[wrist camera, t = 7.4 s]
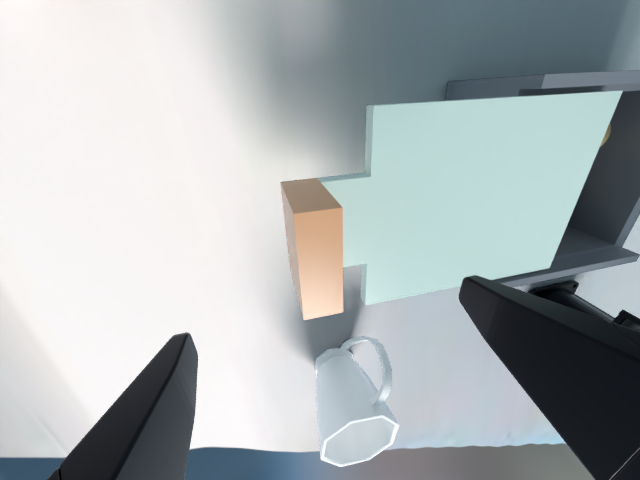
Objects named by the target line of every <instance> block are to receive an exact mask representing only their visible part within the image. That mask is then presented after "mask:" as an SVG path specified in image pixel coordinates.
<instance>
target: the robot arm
mask: <svg viewBox="0 0 640 480" xmlns="http://www.w3.org/2000/svg"><path fill="white" fill-rule="evenodd" d="M578 285H579V283H578V282H576V281H569V282H564V283H560V284H555V285H551V286H546V287H541V288H537V289H533V290H532V291H531V292H530V294H529V293H526V292H523V291H521V290H518V289H515V288H512V287H509V286H506V285H503V284H500V283H498V282H495V281H492V280H489V279H486V278H483V277H480V276H477V275H473V276H467V277H465V278H464V279H463V281H462V284H461V288H460V293H459V300H460V303H461V304H462V306H463V307H464V309H465V310H466V312H467V313H468V315H469V316H470V318H471V320H472V321H473V323H474V324H475V326H476V327H477V329H478V330H479V332H480V333H481V335H482V336H483V338H484V339H485V341H486V342H487V343H488V345H489V346H490V347H491V348H492V350H493V351H494V352H495V354H496V355H497V356H498V357H499V359H500V360H501V361H502V362H503V364H504V365H505V366H506V367H507V369H508V370H509V371H510V373H511V374H512V375H513V376H514V378H515V379H516V380H517V381H518V383H519V384H520V385H521V386H522V388H523V389H524V390H525V392H526V393H527V394H528V395H529V397H530V398H531V399H532V400H533V402H534V403H535V404H536V405H537V407H538V408H539V409H540V411H541V412H542V413H543V414H544V416H545V417H546V418H547V419H548V421H549V422H550V423H551V424H552V426H553V427H554V428H555V430H556V431H557V432H558V433H559V435H560V436H561V437H562V438H563V440H564V441H565V442H566V443H567V445H568V446H569V447H570V449H571V450H572V451H573V452H574V454H575V455H576V456H577V457H578V459H579V460H580V461H581V463H582V464H583V465H584V466H585V468H586V469H587V470H588V471H589V473H590V474H591V475H592V476H593V478H594V479H595V480H640V319H639V318H637V317H636V316H634V315H632V314H630V313H628V312H626V311H625V310H622V311H621V312H619V315H618V316H617V317H616V318H614V317H612V316H611V315H609V314H607V313H606V312H604V311H602V310H601V309H599V308H597V307H596V306H594V305H592V304H591V303H589V302H587V301H586V300H584V299H582V298H581V297H579V296H577V295H576V294H574V293H575V291H576V289H577V287H578ZM197 368H198V354H197V350H196V348H195V345H194V342H193V340H192V337H191V335H190V334H189V333H182V334H177V335H174V336H173V337H171V339H170V340H169V341H168V342H167V343H166V344H165V345H164V347H163V348H162V349H161V350H160V351H159V352H158V353H157V355H156V356H155V357H154V358H153V359H152V360H151V361H150V363H149V364H148V365H147V366H146V367H145V368H144V369H143V370H142V372H141V373H140V374H139V375H138V376H137V377H136V378H135V380H134V381H133V382H132V383H131V384H130V385H129V386H128V388H127V389H126V390H125V391H124V392H123V393H122V394H121V396H120V397H119V398H118V399H117V400H116V401H115V402H114V404H113V405H112V406H111V407H110V408H109V409H108V410H107V412H106V413H105V414H104V415H103V416H102V417H101V418H100V420H99V421H98V422H97V423H96V424H95V425H94V426H93V428H92V429H91V430H90V431H89V432H88V433H87V434H86V435H85V437H84V438H83V439H82V440H81V441H80V442H79V443H78V445H77V446H76V447H75V448H74V449H73V450H72V451H71V453H70V454H69V455H68V456H67V457H66V458H65V460H64V461H63V462H62V463H61V464H60V468H58V469H56V470H55V471H54V472H53V473H52V474H51V475H50V476H49V478H48V479H47V480H184V478H185V472H186V465H187V460H188V453H189V448H190V442H191V436H192V430H193V424H194V416H195V405H196V387H197Z"/></svg>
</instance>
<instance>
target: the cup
mask: <svg viewBox="0 0 640 480" xmlns="http://www.w3.org/2000/svg"><path fill="white" fill-rule="evenodd" d="M366 341H370V342H371V343H372V344H373V345H374V346H375V348H376V351H377V353H378V355H379V359H380V362H381V366H382V385H381V388H380V390H379V391H377V389H376V387H375V386H374V384H373V383H372V381H371V379H370V378H369V377H368V375H367V374H366V373H365V372H364V370H363V369H362V368H361V367H360V365H359V364H358V363H357V362H356V361H354V360H353V358H354V356H353V354H352V353H351V352H350V351H348V349H349V347H350V346H352V345H354V344H356V343H360V342H366ZM315 373H317V378H316V408H317V419H318V431H319V445H320V457H321V460H323V461H326V462H329V463H331V464H334V465H336V466H339V467H343V466H346V465H350V464H355V463H359V462H363V461H368V460H370V459H371V458H372V457H374V456H376V455H377V454H378V453H380V452H381V451H383V450H384V449H386V448H387V447H388V446H390V445H391V444H392V443H393V441H394V438H395V436H396V433H397V430H398V427H399V423H398V422H397V420H396V419H395V417H394V416H393V414H392V412H391V411H390V409H389V408H388V406H387V405H386V403H385V402H384V401H385V399H386V398H387V396H388V395H389V393H390V390H391V387H392V369H391V366H390V362H389V359H388V355H387V353H386V351H385V349H384V347H383V345H382V344H381V343H380V342H379V341H378V340H377V339H374V338H370V337H365V336H361V337H356V338H352V339H349V340H347V341H346V342H344V343H343V344H342V345H341V347H340V348H332V349H327V350H326V351H325V352H324V353H322V354H321V355H320V356H319V357H317V358H316V362H315Z"/></svg>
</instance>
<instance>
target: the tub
mask: <svg viewBox="0 0 640 480" xmlns="http://www.w3.org/2000/svg"><path fill="white" fill-rule="evenodd" d="M594 91H623V92H622V94H621V97H620V99H619V101H618V104H617V106H616V109H615V111H614V114H613V116H612V118H611V121H610V123H609V126H608V128H607V130H606V133H605V135H604V138H603V140H602V143H601V145H600V147H599V150H598V152H597V155H596V157H595V159H594V162H593V164H592V167H591V169H590V171H589V174H588V176H587V179H586V181H585V184H584V186H583V188H582V191H581V193H580V196H579V198H578V200H577V203H576V205H575V208H574V210H573V213H572V215H571V217H570V220H569V222H568V225H567V227H566V229H565V232H564V234H563V237H562V239H561V242H560V244H559V246H558V249H557V251H556V254H555V256H554V258H553V261H552V263H551V266H550V268H548V269H543V270H538V271H533V272H528V273H523V274H518V275H513V276H509V277H504V278H499V279H494V280H492V281H495V282H498V283H500V284H503V285H506V286H509V287H512V288H513V287H517V286H522V285H527V284H531V283H536V282H541V281H546V280H550V279H555V278H560V277H564V276H569V275H574V274H579V273H583V272H588V271H593V270H597V269H602V268H607V267H612V266H616V265H621V264H626V263H630V262H635V261H637V259H638V257H639V256H640V254H637V253H635V252H632V251H630V250H627V249H625V248H622V246H623V244H624V242H625V240H626V239H627V237H628V235H629V233H630V231H631V229H632V227H633V226H634V224H635V222H636V220H637V218H638V216H639V214H640V70H628V71H606V72H583V73H560V74H541V75H527V76H514V77H500V78H487V79H474V80H460V81H448V84H447V91H446V98H445V101H446V100H462V99H479V98H495V97H511V96H528V95H544V94H561V93H577V92H594Z"/></svg>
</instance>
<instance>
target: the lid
mask: <svg viewBox="0 0 640 480" xmlns="http://www.w3.org/2000/svg"><path fill="white" fill-rule="evenodd" d="M622 92H623V91H594V92H577V93H561V94H544V95H528V96H511V97H495V98H479V99H462V100H446V101H429V102H413V103H396V104H380V105H367V115H366V146H365V173H358V174H349V175H340V176H331V177H322V178H312V179H303V180H294V181H285V182H280V183H281V191H282V200H283V209H284V218H285V227H286V235H287V244H288V253H289V262H290V269H291V273H292V277H293V281H294V285H295V289H296V293H297V296H298V300H299V304H300V308H301V312H302V316H303V320H309V319H314V318H318V317H323V316H328V315H333V314H338V313H343V268H345V267H350V266H356V265H362V272H361V299H362V301H363V302H364V304H365V306H366V305H370V304H375V303H380V302H385V301H390V300H395V299H400V298H405V297H410V296H415V295H420V294H425V293H430V292H435V291H439V290H444V289H449V288H454V287H459V286H461V284H462V281H463V279H464V278H465V277H467V276H473V275H477V276H480V277H483V278H486V279H489V280H494V279H499V278H504V277H509V276H513V275H518V274H523V273H528V272H533V271H538V270H543V269H548V268H550V266H551V263H552V261H553V258H554V256H555V254H556V251H557V249H558V246H559V244H560V242H561V239H562V237H563V234H564V232H565V229H566V227H567V225H568V222H569V220H570V217H571V215H572V213H573V210H574V208H575V205H576V203H577V200H578V198H579V196H580V193H581V191H582V188H583V186H584V184H585V181H586V179H587V176H588V174H589V171H590V169H591V167H592V164H593V162H594V159H595V157H596V155H597V152H598V150H599V147H600V145H601V143H602V140H603V138H604V135H605V133H606V130H607V128H608V126H609V123H610V121H611V118H612V116H613V114H614V111H615V109H616V106H617V104H618V101H619V99H620V97H621V94H622Z"/></svg>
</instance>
